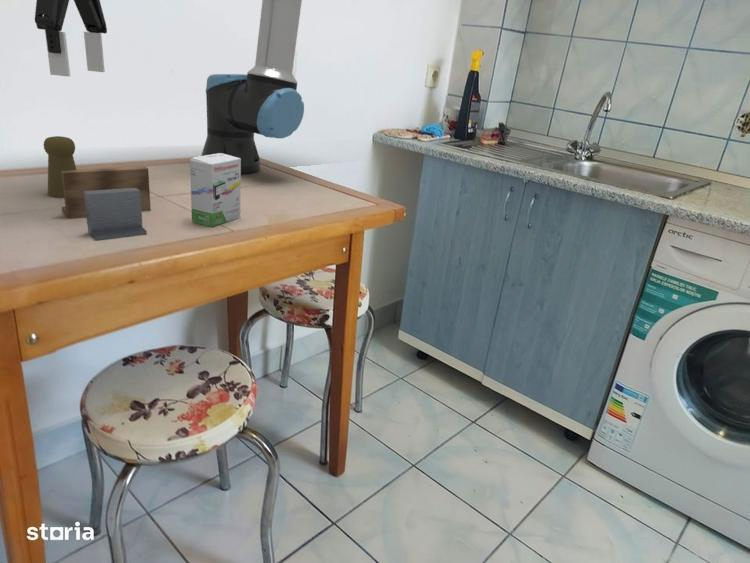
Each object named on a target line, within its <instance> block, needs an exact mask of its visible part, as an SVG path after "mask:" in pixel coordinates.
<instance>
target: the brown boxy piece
mask: <svg viewBox="0 0 750 563" xmlns="http://www.w3.org/2000/svg"><path fill="white" fill-rule="evenodd" d="M61 176H62V185H63V193H64V198H63V200H64V206H61V212H62V213H64V215H65V216H66V218H68V219H76V218H77V219H78V218H87V216H86V206H85V197H84V191H94V190H109V189H123V188H137V189H138V190H140V198H141V212H148V211H149V212H150V211H151V210H152V209H151V192H150V177H149V168H147V167H146V166H139V167H117V168H112V167H111V168H94V169H93V168H91V169H77V170H69V171H61Z"/></svg>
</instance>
